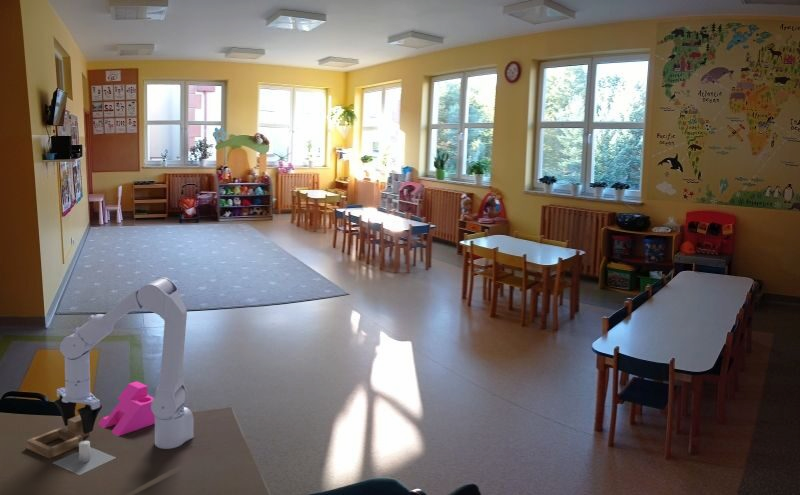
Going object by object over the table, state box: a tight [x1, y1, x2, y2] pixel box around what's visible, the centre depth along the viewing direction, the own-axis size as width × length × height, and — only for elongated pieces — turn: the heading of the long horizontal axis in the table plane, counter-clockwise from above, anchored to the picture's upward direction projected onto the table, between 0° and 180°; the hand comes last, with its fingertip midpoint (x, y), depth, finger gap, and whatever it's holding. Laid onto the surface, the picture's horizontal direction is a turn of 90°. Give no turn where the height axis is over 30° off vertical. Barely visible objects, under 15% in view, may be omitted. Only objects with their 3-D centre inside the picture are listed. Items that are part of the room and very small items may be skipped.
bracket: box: [97, 380, 155, 437], centre depth 174 cm, size 12×10×10 cm
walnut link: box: [26, 414, 90, 459], centre depth 161 cm, size 13×9×6 cm
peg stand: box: [52, 440, 117, 476], centre depth 153 cm, size 10×10×6 cm
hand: (78, 428), depth 165 cm, fingers open, 7 cm apart
